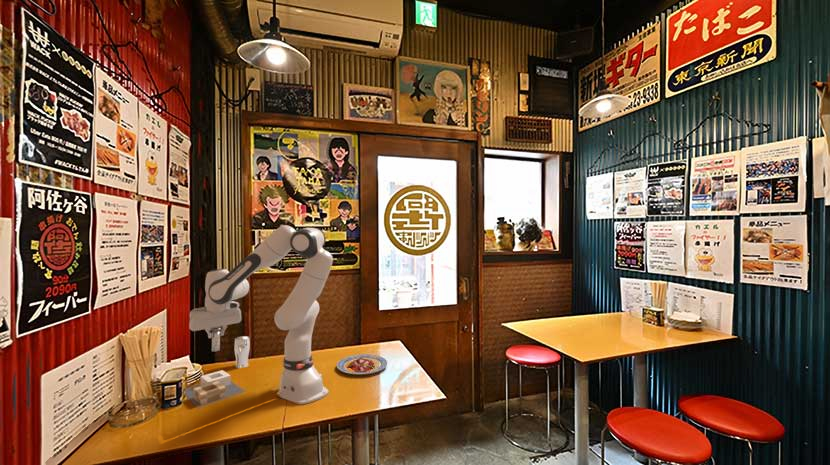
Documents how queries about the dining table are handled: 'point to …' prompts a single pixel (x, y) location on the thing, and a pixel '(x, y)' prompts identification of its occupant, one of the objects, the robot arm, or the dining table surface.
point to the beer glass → (242, 351)
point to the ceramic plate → (361, 364)
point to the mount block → (209, 392)
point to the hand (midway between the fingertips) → (216, 336)
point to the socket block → (216, 378)
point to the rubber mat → (230, 391)
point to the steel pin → (216, 338)
